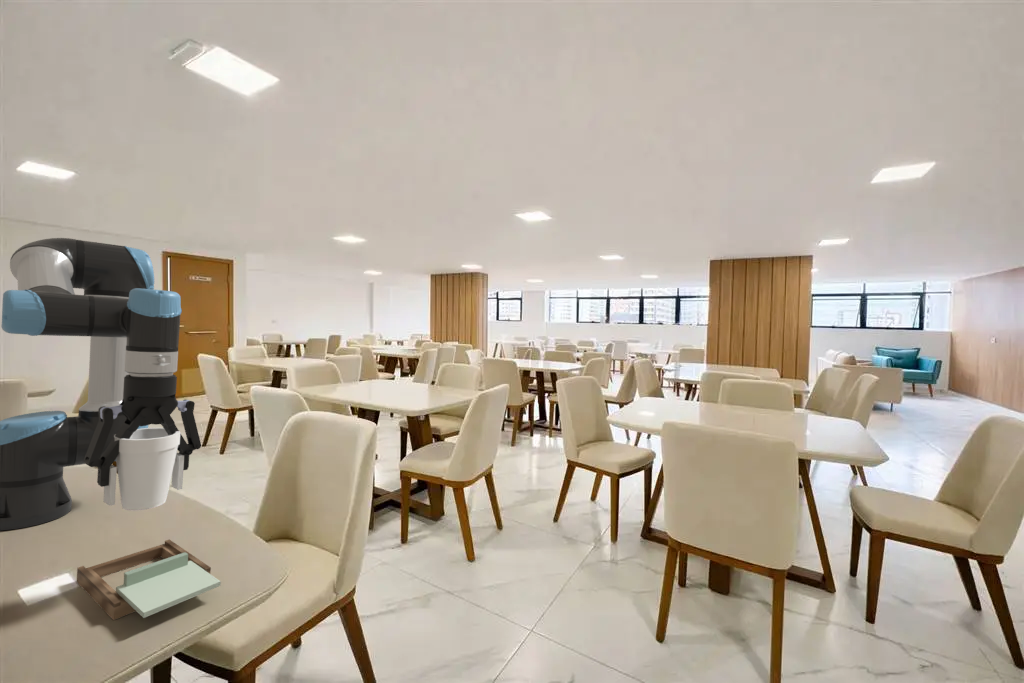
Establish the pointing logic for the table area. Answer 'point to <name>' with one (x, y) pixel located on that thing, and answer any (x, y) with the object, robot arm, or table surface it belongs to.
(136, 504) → the foam cup
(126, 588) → the cover
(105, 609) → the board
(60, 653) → the table surface
